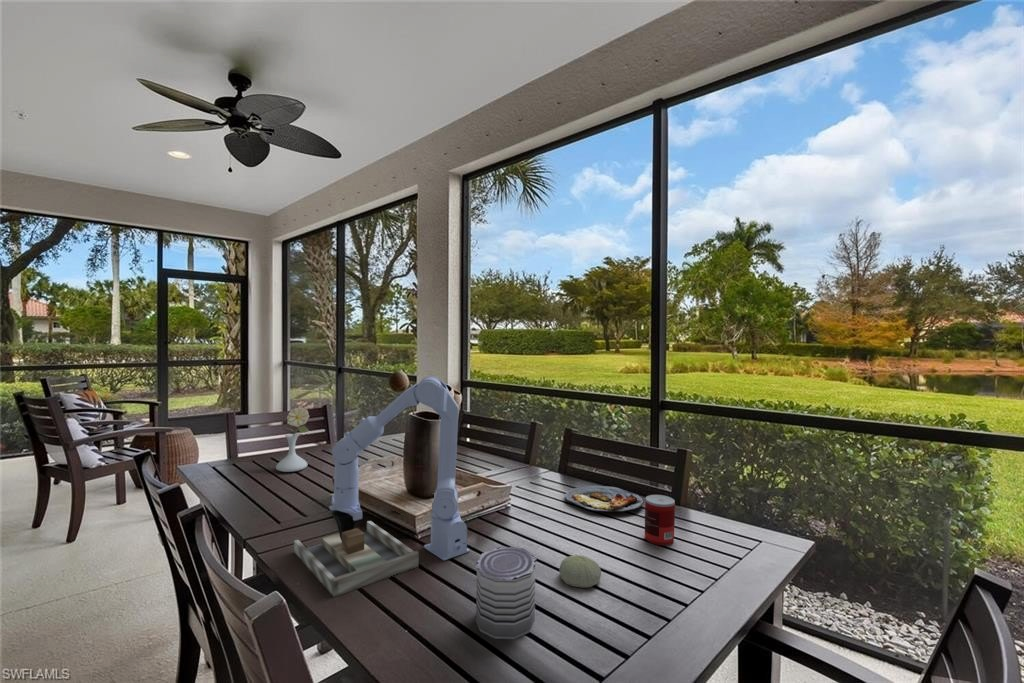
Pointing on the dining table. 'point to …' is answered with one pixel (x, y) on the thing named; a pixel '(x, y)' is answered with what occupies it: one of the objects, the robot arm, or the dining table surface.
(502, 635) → the can
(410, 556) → the box
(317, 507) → the dining table surface
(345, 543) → the walnut cube
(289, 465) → the flower in vase
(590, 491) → the food plate
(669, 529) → the canned food
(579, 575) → the sea urchin shell
